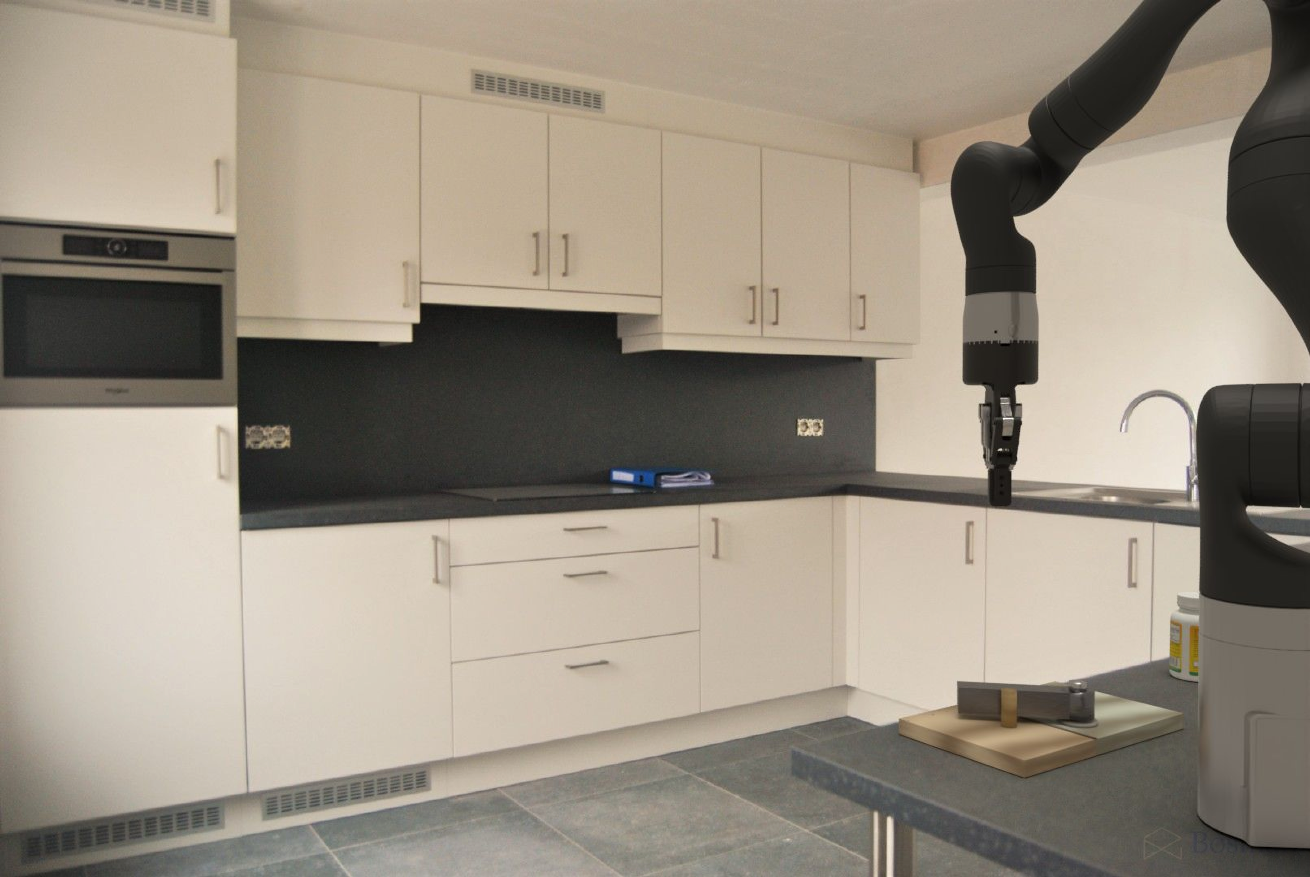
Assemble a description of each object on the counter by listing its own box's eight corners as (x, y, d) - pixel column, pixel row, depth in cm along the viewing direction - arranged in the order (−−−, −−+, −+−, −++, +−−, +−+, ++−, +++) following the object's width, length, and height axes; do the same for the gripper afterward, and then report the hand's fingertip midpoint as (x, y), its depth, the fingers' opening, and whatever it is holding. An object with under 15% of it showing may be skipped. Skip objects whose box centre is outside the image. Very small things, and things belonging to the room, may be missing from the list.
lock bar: (1091, 712, 101) (1091, 678, 101) (1097, 721, 98) (1097, 686, 98) (956, 705, 104) (956, 672, 104) (958, 714, 101) (958, 680, 101)
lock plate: (1183, 728, 103) (1183, 678, 102) (1024, 777, 89) (1024, 720, 89) (1055, 694, 115) (1055, 650, 115) (898, 733, 102) (898, 683, 101)
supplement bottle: (1161, 676, 122) (1161, 594, 122) (1182, 668, 125) (1182, 589, 125) (1209, 685, 118) (1210, 600, 118) (1229, 677, 121) (1230, 595, 121)
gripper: (956, 343, 116) (956, 499, 117) (969, 336, 103) (968, 511, 104) (1027, 342, 115) (1026, 500, 115) (1049, 334, 102) (1048, 512, 102)
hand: (999, 505), depth 109 cm, fingers closed
